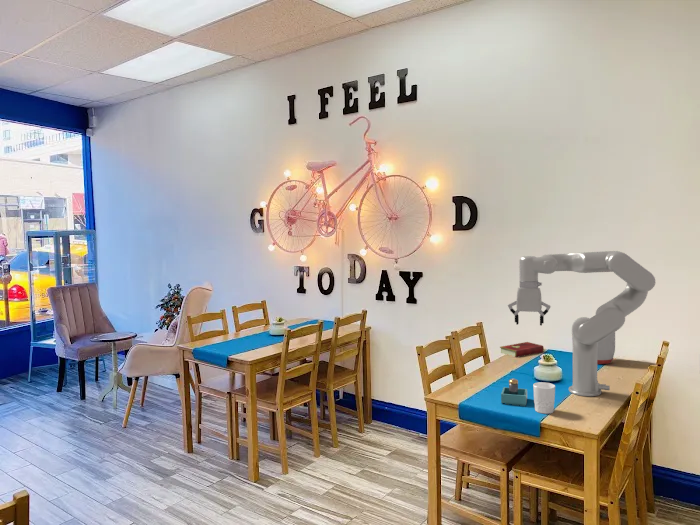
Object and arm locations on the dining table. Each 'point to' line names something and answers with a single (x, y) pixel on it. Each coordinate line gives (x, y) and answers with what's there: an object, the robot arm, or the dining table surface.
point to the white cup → (544, 397)
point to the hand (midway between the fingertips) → (529, 324)
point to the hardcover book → (522, 349)
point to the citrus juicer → (606, 349)
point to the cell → (513, 386)
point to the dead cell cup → (514, 397)
